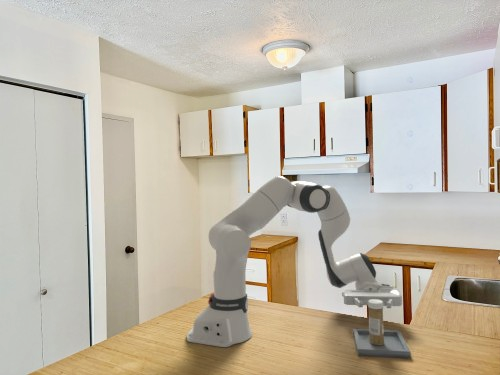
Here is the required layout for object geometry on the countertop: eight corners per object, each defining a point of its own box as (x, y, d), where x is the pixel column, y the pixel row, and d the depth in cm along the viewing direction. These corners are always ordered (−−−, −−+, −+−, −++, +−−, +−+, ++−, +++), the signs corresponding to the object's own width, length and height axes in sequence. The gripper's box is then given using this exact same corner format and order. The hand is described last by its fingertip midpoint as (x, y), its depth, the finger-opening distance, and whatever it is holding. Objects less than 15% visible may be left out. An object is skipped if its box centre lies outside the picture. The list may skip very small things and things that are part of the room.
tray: (357, 355, 111) (357, 348, 111) (353, 334, 126) (353, 328, 126) (410, 358, 108) (410, 351, 108) (399, 336, 123) (399, 330, 123)
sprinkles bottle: (387, 343, 117) (386, 301, 116) (377, 347, 114) (376, 304, 114) (375, 338, 120) (374, 297, 120) (365, 342, 118) (364, 300, 118)
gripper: (341, 284, 143) (343, 295, 129) (397, 285, 139) (405, 297, 125) (341, 300, 143) (344, 313, 129) (397, 301, 139) (405, 315, 125)
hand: (374, 305), depth 127 cm, fingers open, 8 cm apart
